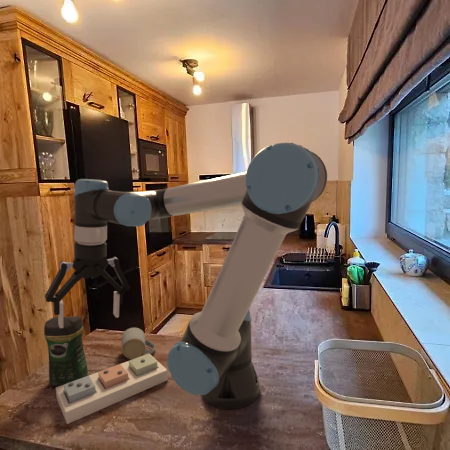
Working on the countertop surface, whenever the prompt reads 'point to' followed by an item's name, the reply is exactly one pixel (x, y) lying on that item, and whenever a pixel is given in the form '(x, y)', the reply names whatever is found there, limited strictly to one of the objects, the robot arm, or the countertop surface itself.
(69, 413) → the button panel
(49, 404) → the countertop surface
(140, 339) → the ceramic mug
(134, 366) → the one-pip button
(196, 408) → the countertop surface
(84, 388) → the three-pip button
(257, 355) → the countertop surface
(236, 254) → the robot arm
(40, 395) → the countertop surface
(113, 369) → the two-pip button
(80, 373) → the coffee jar
